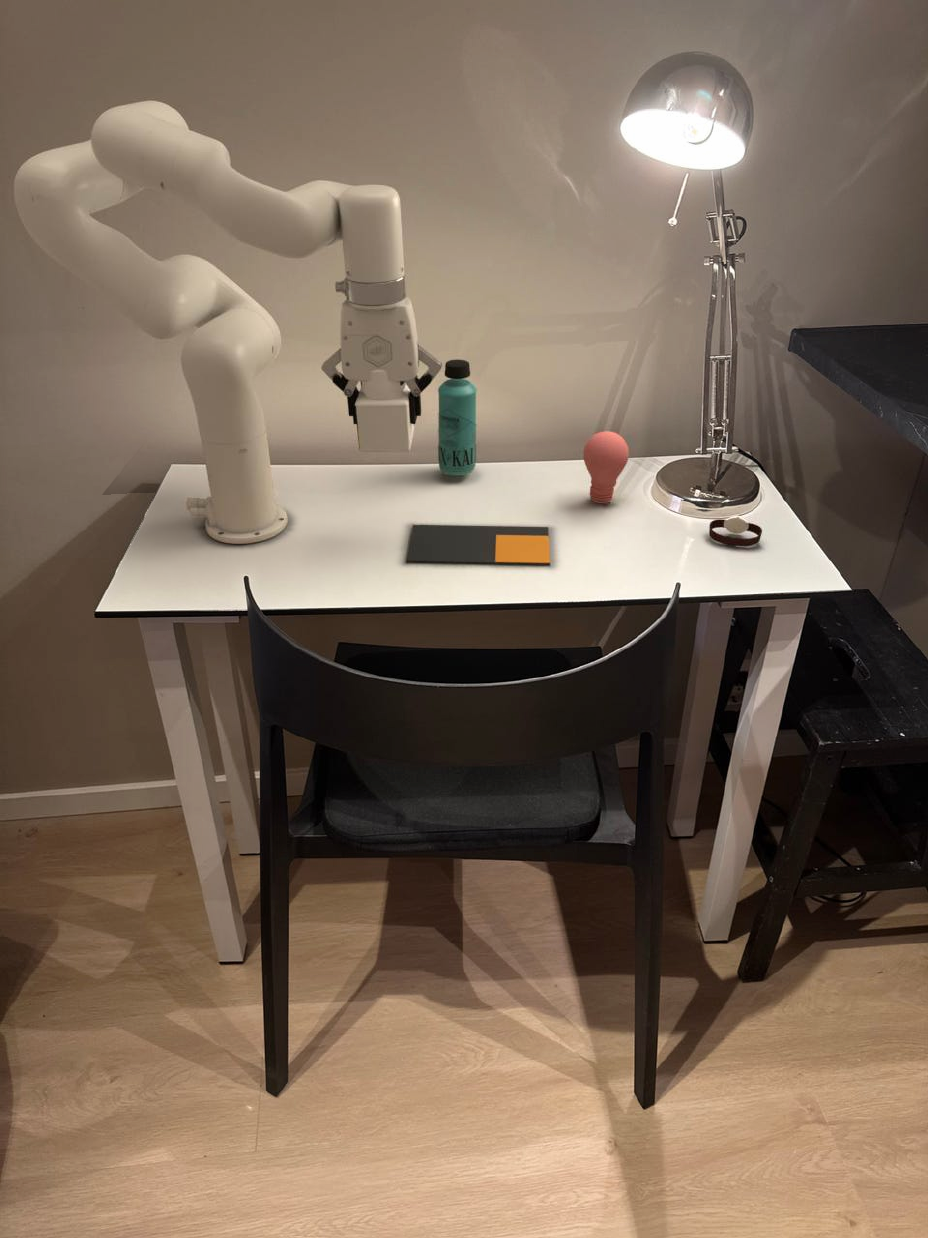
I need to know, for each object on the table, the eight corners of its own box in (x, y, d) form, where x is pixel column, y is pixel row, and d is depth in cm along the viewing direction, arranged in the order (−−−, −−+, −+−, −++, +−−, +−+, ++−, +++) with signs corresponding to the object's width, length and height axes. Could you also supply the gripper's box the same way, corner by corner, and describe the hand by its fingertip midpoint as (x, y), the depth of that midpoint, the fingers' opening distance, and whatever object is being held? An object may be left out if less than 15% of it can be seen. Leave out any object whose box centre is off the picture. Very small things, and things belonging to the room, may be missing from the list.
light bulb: (622, 514, 152) (629, 443, 145) (577, 510, 153) (582, 440, 146) (625, 494, 158) (632, 425, 151) (582, 490, 159) (587, 422, 152)
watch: (760, 536, 146) (764, 515, 144) (758, 551, 142) (763, 529, 140) (709, 529, 148) (712, 508, 145) (706, 544, 144) (709, 522, 142)
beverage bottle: (441, 466, 167) (439, 354, 156) (479, 468, 166) (479, 355, 155) (435, 483, 162) (432, 367, 150) (474, 485, 161) (474, 369, 150)
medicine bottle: (365, 432, 138) (358, 350, 131) (414, 432, 138) (409, 349, 131) (358, 452, 132) (351, 367, 125) (410, 452, 132) (405, 367, 125)
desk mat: (406, 562, 140) (406, 559, 139) (413, 526, 149) (412, 524, 148) (550, 565, 139) (550, 562, 139) (548, 529, 148) (548, 526, 148)
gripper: (304, 299, 121) (319, 431, 130) (441, 297, 120) (446, 431, 129) (314, 283, 127) (328, 410, 137) (445, 282, 126) (449, 410, 136)
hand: (385, 419), depth 133 cm, fingers closed on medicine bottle, 7 cm apart
